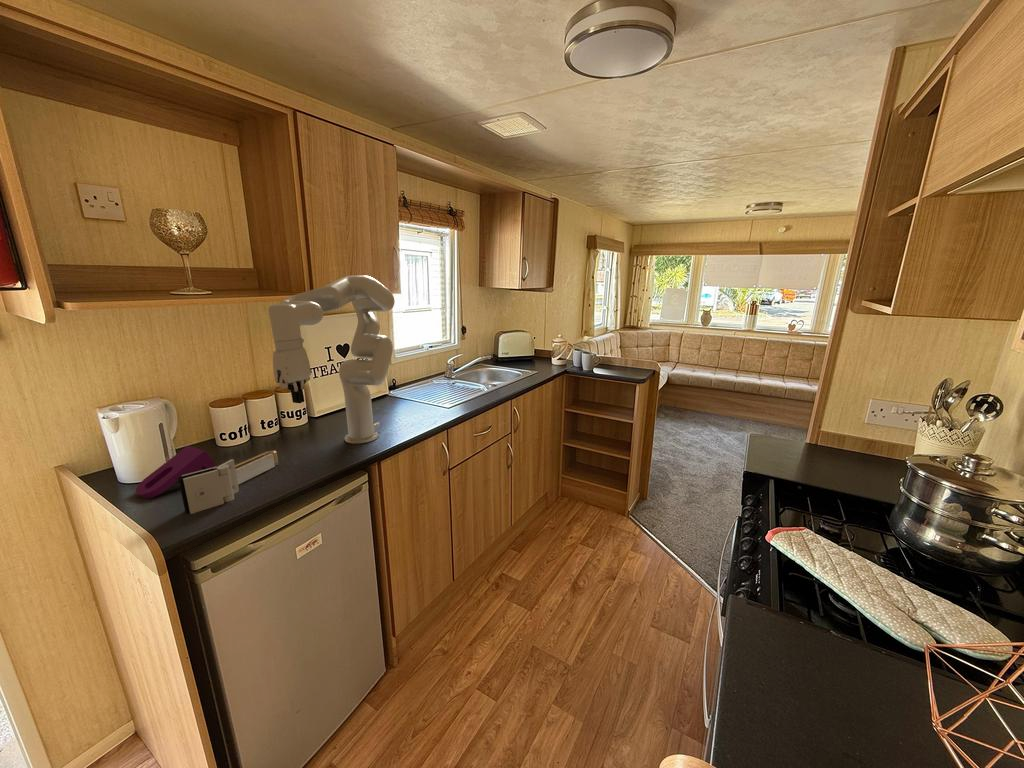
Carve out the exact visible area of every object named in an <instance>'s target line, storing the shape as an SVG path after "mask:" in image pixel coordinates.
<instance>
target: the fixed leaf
mask: <svg viewBox="0 0 1024 768" xmlns="http://www.w3.org/2000/svg"><path fill="white" fill-rule="evenodd" d="M268 454H273V458H274V464H275V467H277V466H278V465H279V459H278V452H277V450H275V449H274V450H269V451H265V452H262V453H260V454H258V455H256V456H253V457H251V458H249V459H247V460H244V461H242V462H240V463H237V464H235V469H237V468H240V467H242V466H244V465H246V464H248V463H250V462H253V461H255V460H257V459H259V458H261V457H264V456H266V455H268Z"/></svg>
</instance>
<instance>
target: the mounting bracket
mask: <svg viewBox="0 0 1024 768" xmlns="http://www.w3.org/2000/svg"><path fill="white" fill-rule="evenodd" d="M216 466H217V463H216V461H215V460H214V459H213V458H212V457H211V456H210V455H209V453H208V452H207V451H205V450H203V449H201V448H197V447H193V446H189V445H187V446H185V447H184V448H183V449H181V450H180V451H179V452H177V453H176V454H175V455H174V456H172V457H171V458H170V459H168V460H167V461H166V462H165V463H163V464H162V465H160V467H159V466H158V468H157V469H155V470H154V471H153V472H152V473H150V474H148V476H146V477H145V478H143V479H142V480H141V481H140V483H139V484H138V485H137V487H136V489H135V493H136V495H138V496H139V497H140V498H142V497H143V498H142V499H152V498H155V497H157V496H159V495H161V494H163V493H164V492H166V491H167V490H169V489H170V488H171V487H172V486H174V484H176V483H177V482H179V480H178V477H181V476H182V475H185V474H189V473H193V472H197V471H201V470H205V469H209V468H213V467H216Z"/></svg>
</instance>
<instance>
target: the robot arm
mask: <svg viewBox="0 0 1024 768" xmlns="http://www.w3.org/2000/svg"><path fill="white" fill-rule="evenodd" d="M350 302H351V304H352V306H353V309H354V312H355V314H356V317H357V325H356V329H355V332H354V336H353V337H352V338H353V339H352V342H351V345H350V352H351V355H352V356H353V357H355V359H348V360H344V361H343V362H342V363H341V364H340V365H339V368H338V375H339V379H340V381H341V384H342V389H343V393H344V394H343V395H344V404H345V405H344V406H345V413H346V425H347V431H348V432H347V434H346V435H345V436H344V441H345V442H346V443H348V444H355V445H356V444H357V445H359V444H364V443H365V444H366V443H369V442H372V441H375V440H376V439H378V437H379V433H378V431H376V429H377V428H379V427H380V426H381V423H380V422H377V421H376V422H375V423H374V418H373V409H372V407H373V406H372V396H371V392H370V389H369V387H368V386H372V387H373V386H376V387H377V386H380V385H382V384H383V383H384V381H385V380H386V378H387V373H388V371H389V367H390V363H391V359H392V355H393V351H394V349H393V348H394V346H393V342H392V340H391V338H390V337H389V336H388V335H385V334H379V333H380V331H381V330H380V329H381V325H380V322H379V319H378V318H377V316H376V314H375V313H374V312H380V313H381V312H389V311H391V310H392V309H393V308H394V306H395V296H394V294H393V293H392V292H391V290H389V288H387V287H386V286H385V285H384V284H382V282H380V281H378V280H377V279H375V278H374V277H371V276H369V275H346V276H343V277H341V278H338V279H337V280H335V281H333V282H331V283H329V284H327V285H324V286H322V287H318V288H314V289H310V290H307V291H304V292H299V293H297V294H293V295H291V296H289V297H287V298H285V299H283V300H281V301H280V302H279V303H275V304H271V305H269V307H268V308H267V309H268V316H269V321H270V322H269V323H270V327H271V332H272V337H273V343H274V348H275V351H273V353H272V365H273V367H272V370H273V376H274V380H275V383H277V384H278V385H279V386H278V387H279V388H280V389H287V390H288V391H289V392H290V395H291V400H292V403H293V404H302V403H304V402H305V396H304V391H303V390H304V389H305V385H306V383H307V382H309V381H310V380H311V375H312V372H311V371H312V370H311V369H312V368H311V365H310V364H311V363H310V360H309V356H308V353H307V350H306V349H305V346H304V344H303V343H304V342H305V340H304V339H303V338H302V332H301V326H315V325H317V324H319V323H320V322H321V321H322V320H323V317H324V313H327V312H333V311H336V310H340V308H342V307H344V306H345V305H347V304H349V303H350ZM356 358H358V359H356Z"/></svg>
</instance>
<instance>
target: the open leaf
mask: <svg viewBox="0 0 1024 768" xmlns="http://www.w3.org/2000/svg"><path fill="white" fill-rule="evenodd" d="M274 467H276V466H275V464H274V458H273V454H268V455H266V456H264V457H261V458H259V459H257V460H255V461H253V462H250V463H248V464H246V465H244V466H242V467H240V468H237V469H235V470H236V475H237V481H238V486H239V485H241V484H242V483H245V482H246V481H249V480H250V479H253V478H255V477H256V476H259V475H260V474H263V473H264V472H266V471H269V470H271V469H273V468H274Z"/></svg>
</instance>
